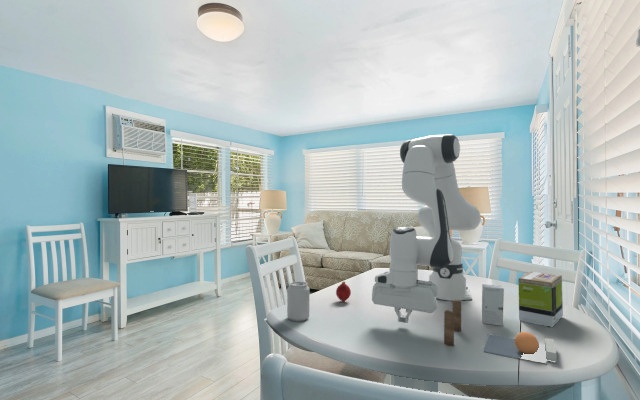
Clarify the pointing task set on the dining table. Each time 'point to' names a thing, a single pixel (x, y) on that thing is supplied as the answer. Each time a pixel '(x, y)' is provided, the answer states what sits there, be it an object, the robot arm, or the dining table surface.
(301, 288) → the can
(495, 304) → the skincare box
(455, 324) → the post
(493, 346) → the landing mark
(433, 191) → the robot arm
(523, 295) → the tea box
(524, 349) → the ball
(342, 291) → the onion
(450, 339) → the post
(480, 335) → the dining table surface
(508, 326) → the dining table surface
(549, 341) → the stopper wall
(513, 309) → the dining table surface
